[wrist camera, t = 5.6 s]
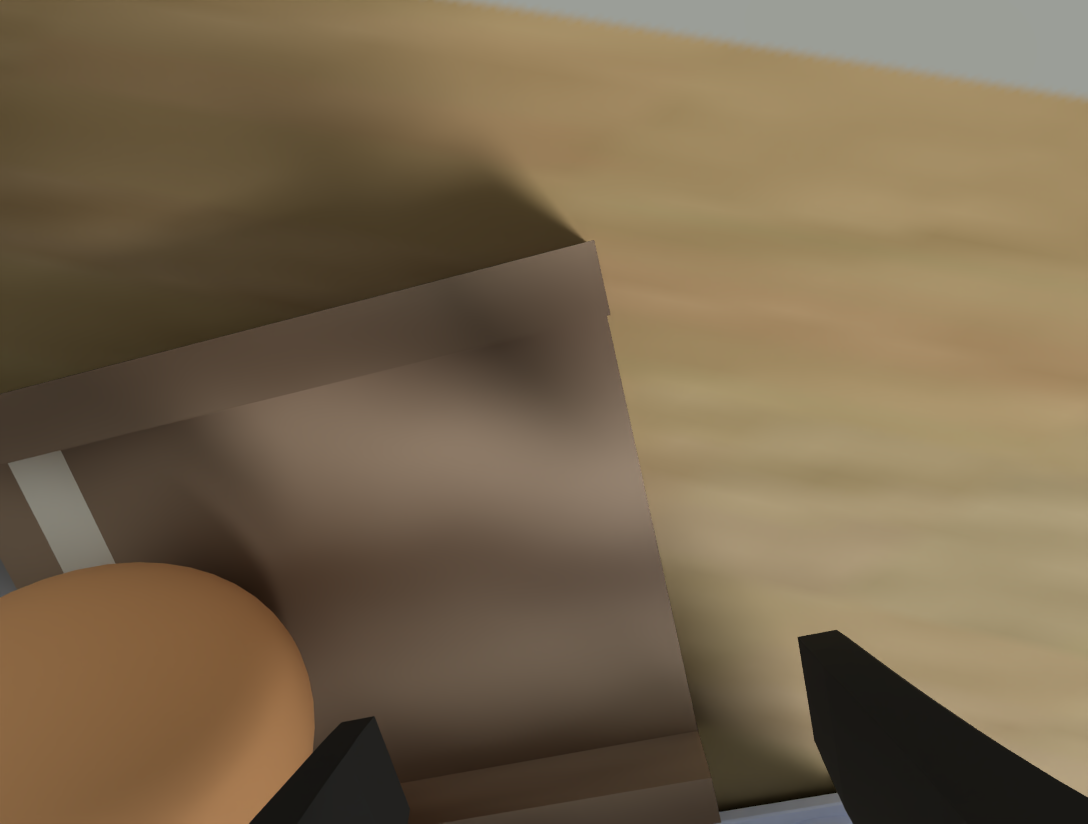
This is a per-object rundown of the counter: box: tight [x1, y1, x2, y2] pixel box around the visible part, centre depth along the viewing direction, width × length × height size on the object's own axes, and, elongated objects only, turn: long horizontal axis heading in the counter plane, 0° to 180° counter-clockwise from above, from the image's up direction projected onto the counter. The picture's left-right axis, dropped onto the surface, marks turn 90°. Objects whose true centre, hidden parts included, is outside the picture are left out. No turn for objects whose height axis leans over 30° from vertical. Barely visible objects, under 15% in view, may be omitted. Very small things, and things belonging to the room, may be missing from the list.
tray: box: [0, 240, 721, 824], centre depth 15 cm, size 15×28×6 cm, turn 104°
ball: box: [0, 562, 315, 824], centre depth 12 cm, size 8×8×8 cm
